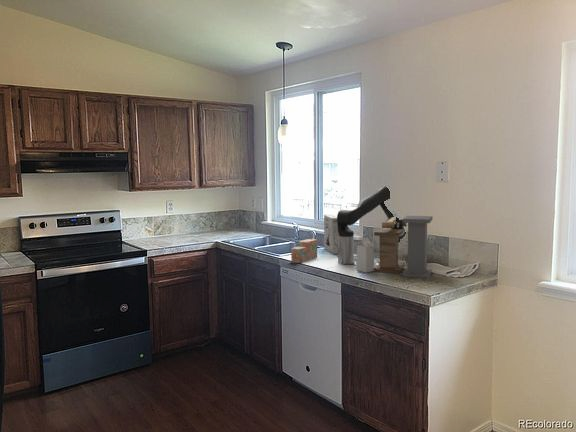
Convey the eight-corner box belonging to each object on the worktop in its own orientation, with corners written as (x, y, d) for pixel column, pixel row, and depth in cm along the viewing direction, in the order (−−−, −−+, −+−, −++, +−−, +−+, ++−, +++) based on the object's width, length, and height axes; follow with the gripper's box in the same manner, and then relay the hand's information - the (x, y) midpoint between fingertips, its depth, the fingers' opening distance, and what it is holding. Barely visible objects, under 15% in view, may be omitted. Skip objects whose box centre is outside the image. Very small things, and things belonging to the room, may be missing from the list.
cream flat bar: (392, 228, 262) (392, 223, 261) (381, 227, 264) (381, 222, 264) (399, 222, 283) (399, 217, 282) (390, 222, 285) (390, 217, 285)
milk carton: (356, 270, 270) (356, 238, 267) (364, 268, 274) (364, 237, 272) (366, 272, 264) (366, 240, 262) (374, 270, 269) (374, 238, 266)
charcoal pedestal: (428, 278, 249) (429, 219, 245) (402, 276, 255) (402, 218, 251) (431, 272, 262) (432, 216, 258) (406, 270, 268) (406, 215, 264)
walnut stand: (398, 273, 262) (398, 233, 259) (374, 271, 267) (374, 232, 264) (403, 267, 274) (403, 229, 271) (379, 266, 280) (379, 228, 277)
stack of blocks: (299, 263, 292) (298, 244, 291) (291, 262, 296) (290, 243, 294) (317, 257, 309) (317, 239, 308) (309, 256, 313) (309, 238, 311)
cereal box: (324, 248, 338) (323, 214, 335) (334, 247, 340) (333, 214, 336) (332, 254, 317) (332, 218, 314) (343, 253, 318) (342, 217, 315)
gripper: (387, 222, 298) (382, 212, 283) (409, 223, 292) (405, 213, 277) (386, 233, 295) (381, 223, 280) (408, 234, 289) (404, 224, 275)
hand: (393, 218), depth 279 cm, fingers closed on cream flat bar, 3 cm apart
